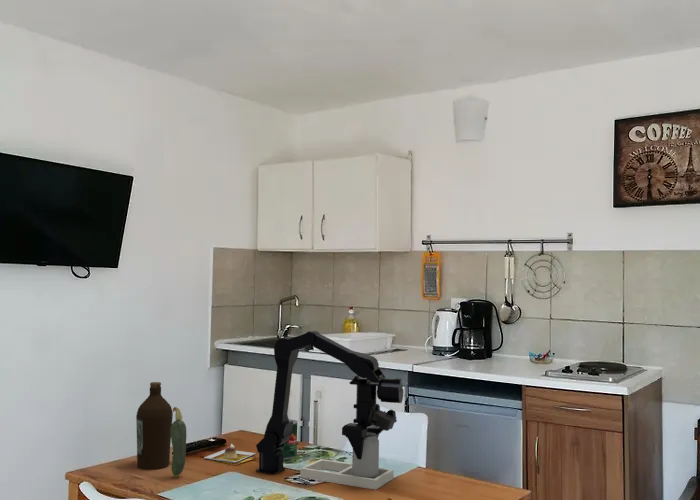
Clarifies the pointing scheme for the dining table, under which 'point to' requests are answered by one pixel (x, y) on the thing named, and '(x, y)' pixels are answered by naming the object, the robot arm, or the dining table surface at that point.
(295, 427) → the canned tomato
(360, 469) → the can
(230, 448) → the dessert
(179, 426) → the vegetable
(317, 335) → the robot arm
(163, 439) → the olive oil
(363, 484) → the organizer
